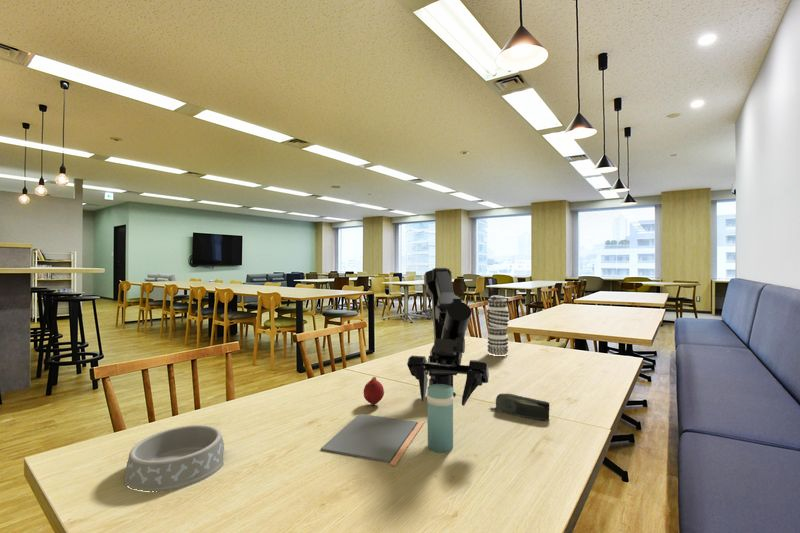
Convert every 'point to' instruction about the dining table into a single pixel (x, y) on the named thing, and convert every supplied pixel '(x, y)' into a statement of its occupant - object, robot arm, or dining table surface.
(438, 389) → the teal cylinder
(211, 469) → the dog bowl
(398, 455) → the orange strip
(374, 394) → the onion
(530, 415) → the black stapler
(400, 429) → the mat
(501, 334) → the grey patterned cylinder
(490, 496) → the dining table surface
